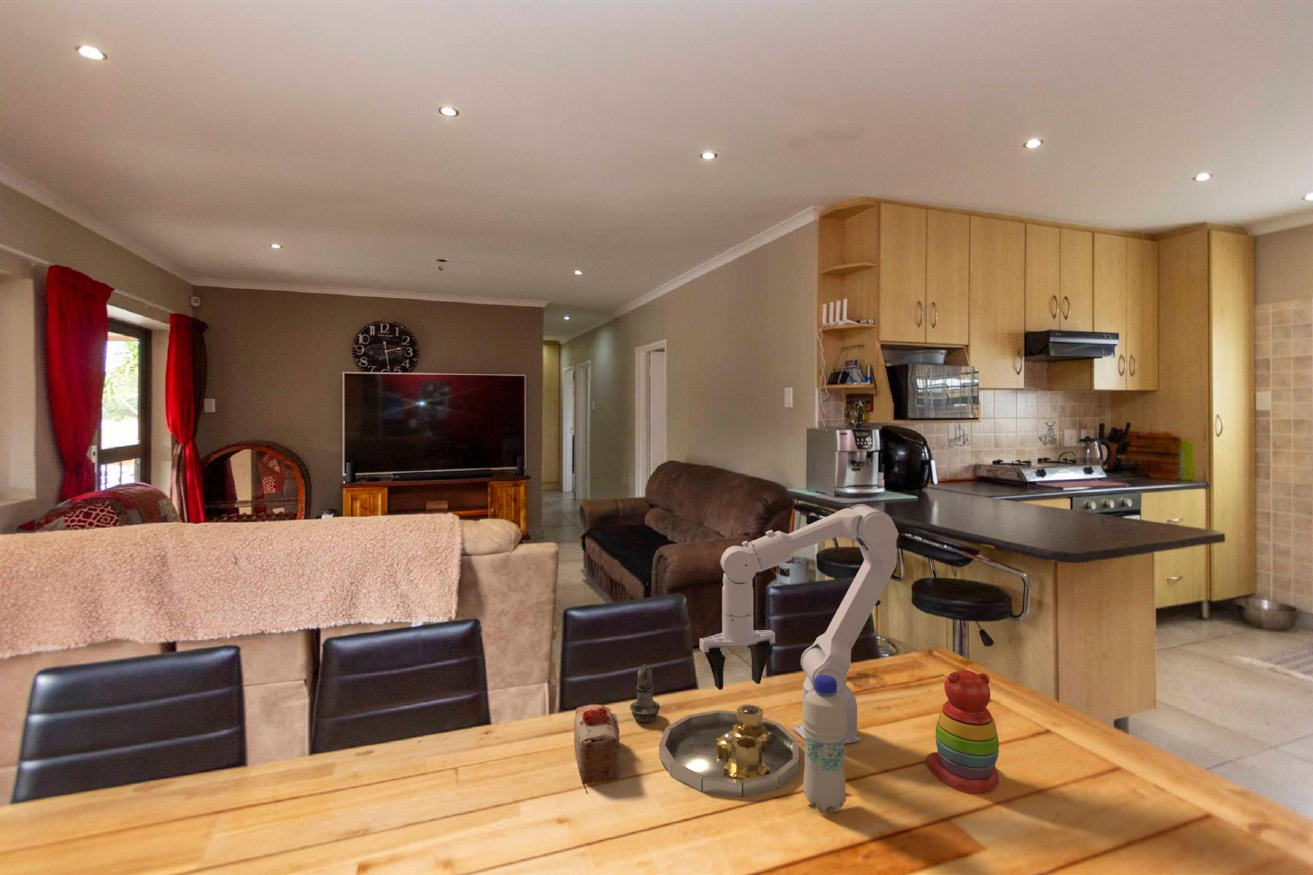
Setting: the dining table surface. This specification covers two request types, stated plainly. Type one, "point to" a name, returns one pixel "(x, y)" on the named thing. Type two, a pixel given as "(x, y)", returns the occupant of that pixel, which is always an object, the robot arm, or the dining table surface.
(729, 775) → the planet gear
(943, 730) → the stacking bear
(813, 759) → the bottle
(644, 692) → the grey chess piece
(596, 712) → the food item
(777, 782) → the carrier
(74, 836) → the dining table surface
